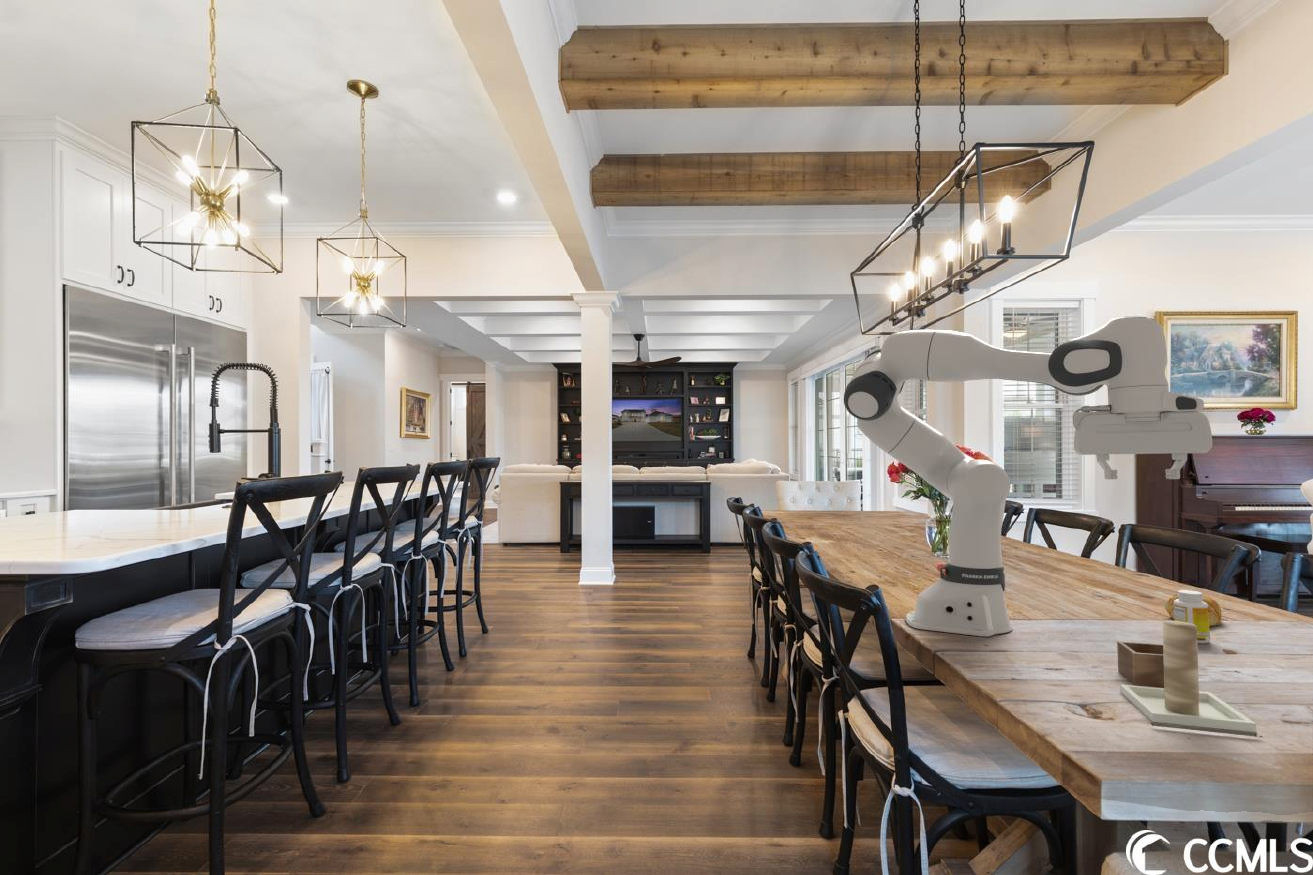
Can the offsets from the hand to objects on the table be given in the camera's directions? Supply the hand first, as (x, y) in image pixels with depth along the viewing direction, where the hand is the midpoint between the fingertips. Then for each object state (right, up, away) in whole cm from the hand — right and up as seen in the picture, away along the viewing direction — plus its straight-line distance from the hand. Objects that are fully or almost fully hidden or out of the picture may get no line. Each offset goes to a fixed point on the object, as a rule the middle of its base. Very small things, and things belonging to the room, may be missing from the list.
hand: (1141, 479), depth 112 cm
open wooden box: (-3, -35, -6) cm, 36 cm away
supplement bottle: (+25, -36, +18) cm, 47 cm away
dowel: (-9, -34, -19) cm, 40 cm away
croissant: (+39, -36, +33) cm, 63 cm away
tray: (-9, -35, -19) cm, 40 cm away
